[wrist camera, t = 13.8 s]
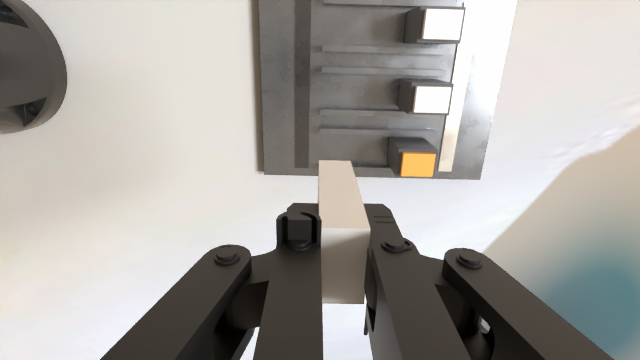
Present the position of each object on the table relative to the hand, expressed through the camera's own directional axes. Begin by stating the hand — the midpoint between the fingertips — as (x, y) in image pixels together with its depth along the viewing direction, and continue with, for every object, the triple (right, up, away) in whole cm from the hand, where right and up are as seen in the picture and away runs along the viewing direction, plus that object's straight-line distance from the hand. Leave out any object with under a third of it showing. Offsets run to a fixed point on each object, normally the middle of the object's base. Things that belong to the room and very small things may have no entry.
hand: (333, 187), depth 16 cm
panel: (+6, +10, +22) cm, 25 cm away
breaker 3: (+9, +4, +23) cm, 25 cm away
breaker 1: (+10, +16, +19) cm, 27 cm away
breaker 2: (+10, +10, +21) cm, 25 cm away
